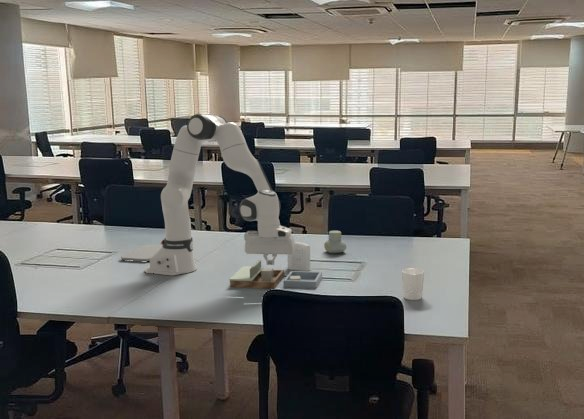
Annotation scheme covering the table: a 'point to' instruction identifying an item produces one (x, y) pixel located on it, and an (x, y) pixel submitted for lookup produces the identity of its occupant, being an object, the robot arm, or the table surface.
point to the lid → (247, 272)
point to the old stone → (295, 278)
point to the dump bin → (303, 279)
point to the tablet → (142, 253)
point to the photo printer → (300, 257)
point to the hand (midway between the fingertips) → (270, 264)
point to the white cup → (412, 283)
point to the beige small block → (267, 274)
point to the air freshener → (335, 243)
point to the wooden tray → (258, 283)
